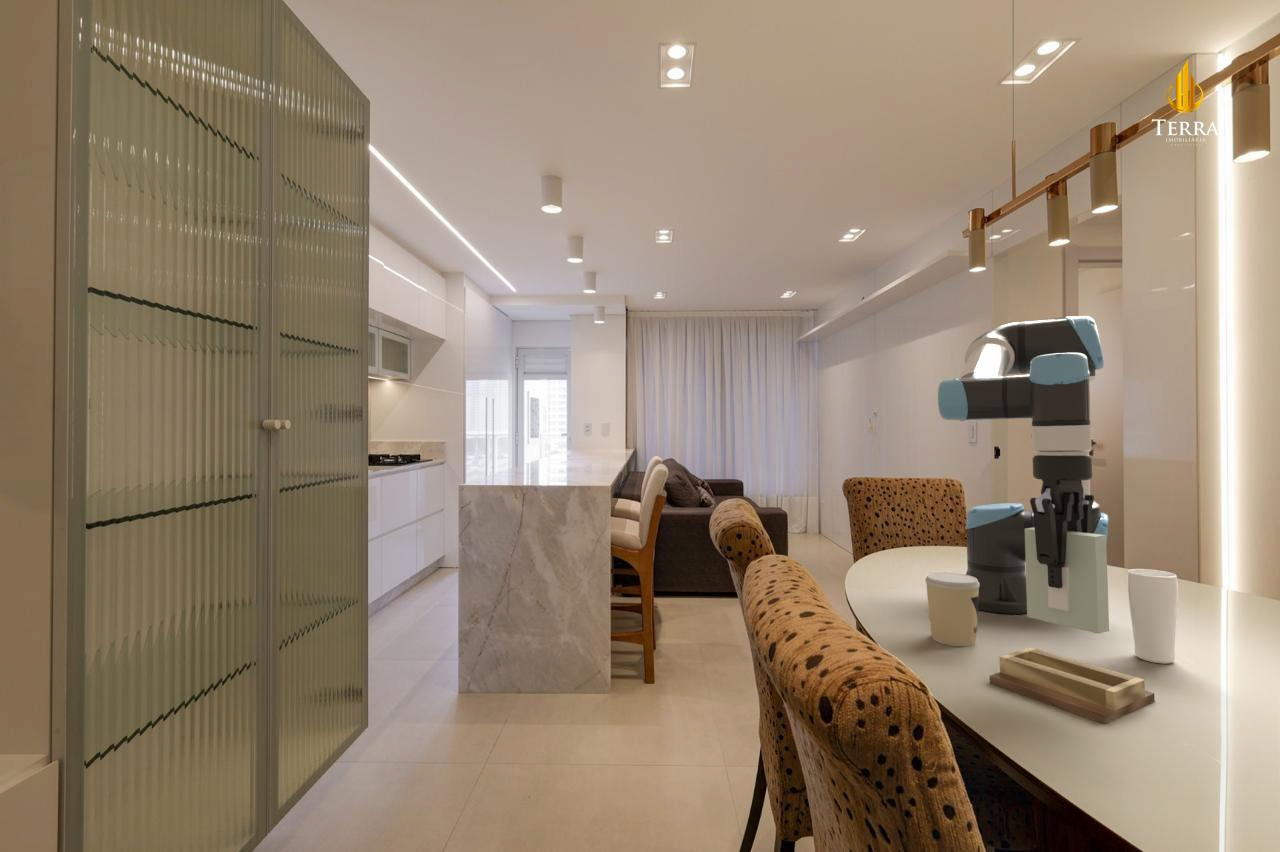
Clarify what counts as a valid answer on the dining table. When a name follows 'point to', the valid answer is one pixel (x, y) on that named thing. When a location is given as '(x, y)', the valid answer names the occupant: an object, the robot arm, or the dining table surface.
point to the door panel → (1071, 583)
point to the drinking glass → (1153, 613)
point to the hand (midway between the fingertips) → (1066, 606)
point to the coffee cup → (953, 608)
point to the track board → (1066, 699)
